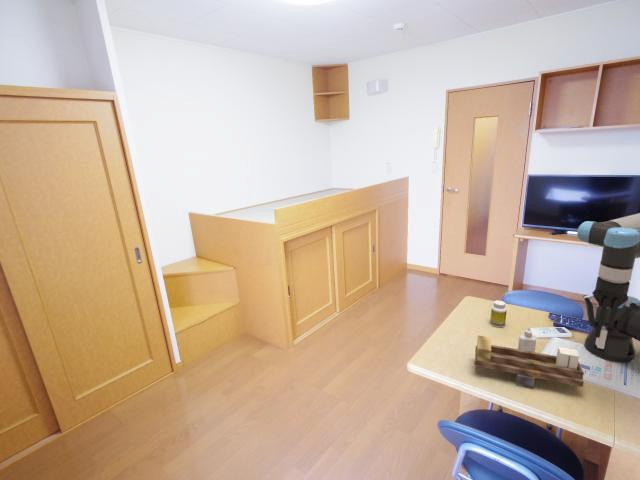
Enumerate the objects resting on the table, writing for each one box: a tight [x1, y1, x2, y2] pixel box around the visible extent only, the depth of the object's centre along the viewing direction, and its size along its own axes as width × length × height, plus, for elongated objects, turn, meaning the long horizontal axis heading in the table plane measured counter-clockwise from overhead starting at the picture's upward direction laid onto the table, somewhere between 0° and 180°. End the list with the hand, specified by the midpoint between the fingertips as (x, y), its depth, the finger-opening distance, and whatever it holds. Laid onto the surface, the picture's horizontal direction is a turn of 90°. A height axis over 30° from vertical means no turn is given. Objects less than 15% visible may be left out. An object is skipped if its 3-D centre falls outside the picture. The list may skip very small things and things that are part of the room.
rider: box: [556, 346, 580, 370], centre depth 113 cm, size 5×4×7 cm
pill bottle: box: [489, 299, 508, 328], centre depth 154 cm, size 6×6×11 cm
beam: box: [474, 335, 585, 390], centre depth 119 cm, size 32×12×11 cm, turn 65°
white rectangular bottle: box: [517, 327, 537, 352], centre depth 131 cm, size 4×6×12 cm
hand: (599, 346), depth 108 cm, fingers closed
